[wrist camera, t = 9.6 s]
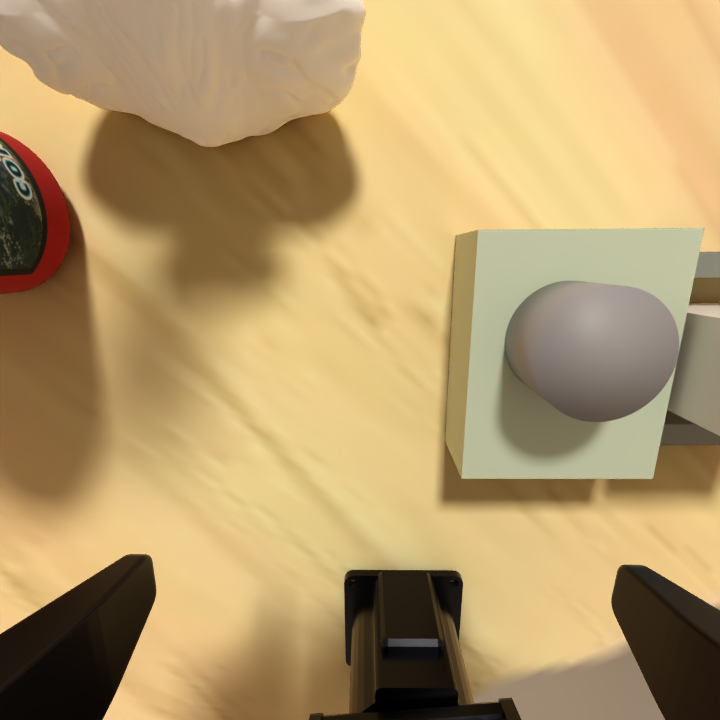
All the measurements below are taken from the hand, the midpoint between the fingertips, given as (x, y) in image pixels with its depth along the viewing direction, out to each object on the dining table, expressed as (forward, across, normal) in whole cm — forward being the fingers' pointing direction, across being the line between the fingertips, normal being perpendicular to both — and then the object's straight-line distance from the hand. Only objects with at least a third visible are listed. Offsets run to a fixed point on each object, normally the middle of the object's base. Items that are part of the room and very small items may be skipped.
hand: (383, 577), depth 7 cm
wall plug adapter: (+12, -11, -2) cm, 16 cm away
